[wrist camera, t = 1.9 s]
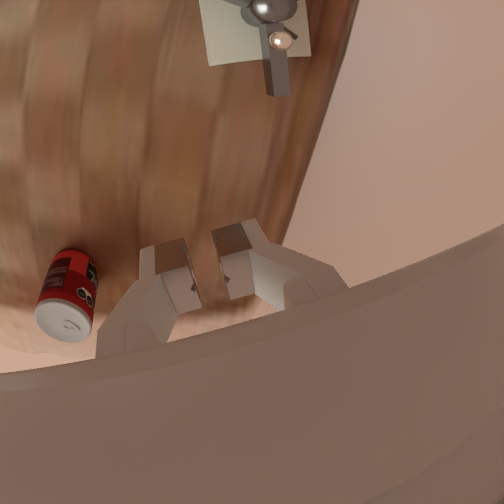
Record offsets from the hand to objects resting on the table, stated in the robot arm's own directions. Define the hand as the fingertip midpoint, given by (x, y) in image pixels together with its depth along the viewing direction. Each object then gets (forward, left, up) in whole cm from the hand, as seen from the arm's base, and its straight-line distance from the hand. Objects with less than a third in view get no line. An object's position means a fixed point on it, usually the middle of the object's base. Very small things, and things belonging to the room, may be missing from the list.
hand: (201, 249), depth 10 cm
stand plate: (-11, +11, -27) cm, 31 cm away
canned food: (+17, -20, -27) cm, 38 cm away
